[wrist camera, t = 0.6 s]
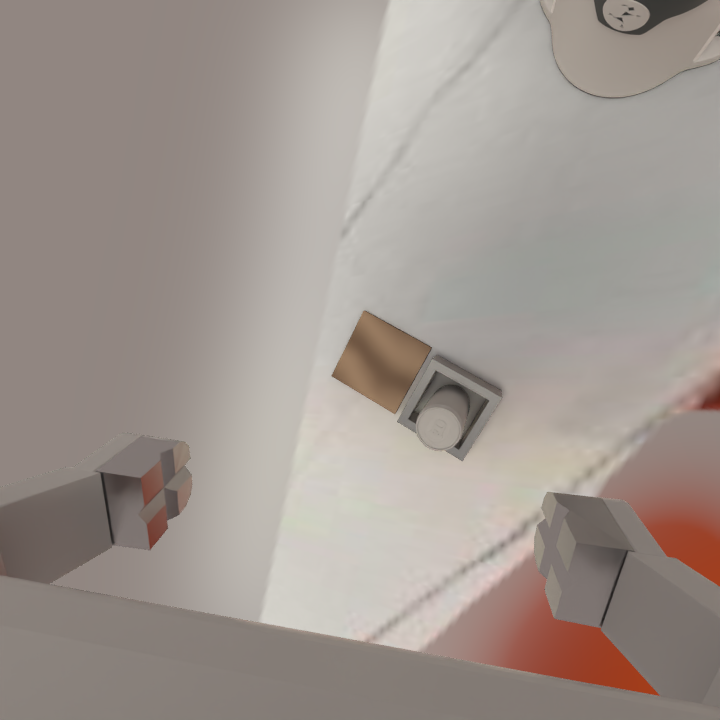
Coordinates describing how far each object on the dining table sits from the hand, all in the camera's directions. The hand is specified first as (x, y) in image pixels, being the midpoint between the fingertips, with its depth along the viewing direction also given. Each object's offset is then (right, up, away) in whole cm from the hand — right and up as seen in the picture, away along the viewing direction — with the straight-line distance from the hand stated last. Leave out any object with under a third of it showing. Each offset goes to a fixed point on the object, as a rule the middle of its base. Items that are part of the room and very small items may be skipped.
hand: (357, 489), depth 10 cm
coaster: (+3, +3, +46) cm, 46 cm away
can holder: (+12, -2, +44) cm, 46 cm away
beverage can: (+12, -2, +44) cm, 46 cm away
